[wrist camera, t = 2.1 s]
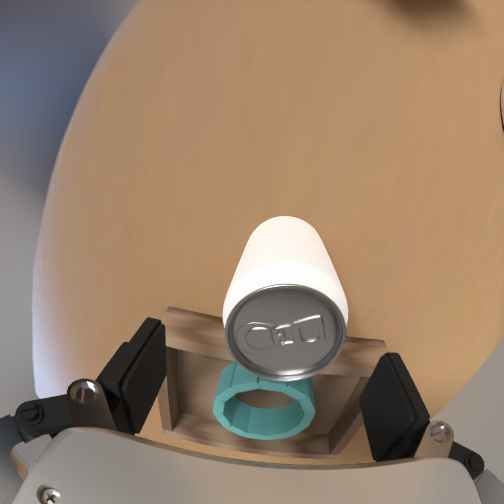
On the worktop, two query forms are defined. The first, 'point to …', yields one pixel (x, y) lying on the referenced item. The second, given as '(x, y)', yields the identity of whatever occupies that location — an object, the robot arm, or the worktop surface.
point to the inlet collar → (257, 419)
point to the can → (285, 304)
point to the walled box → (257, 391)
